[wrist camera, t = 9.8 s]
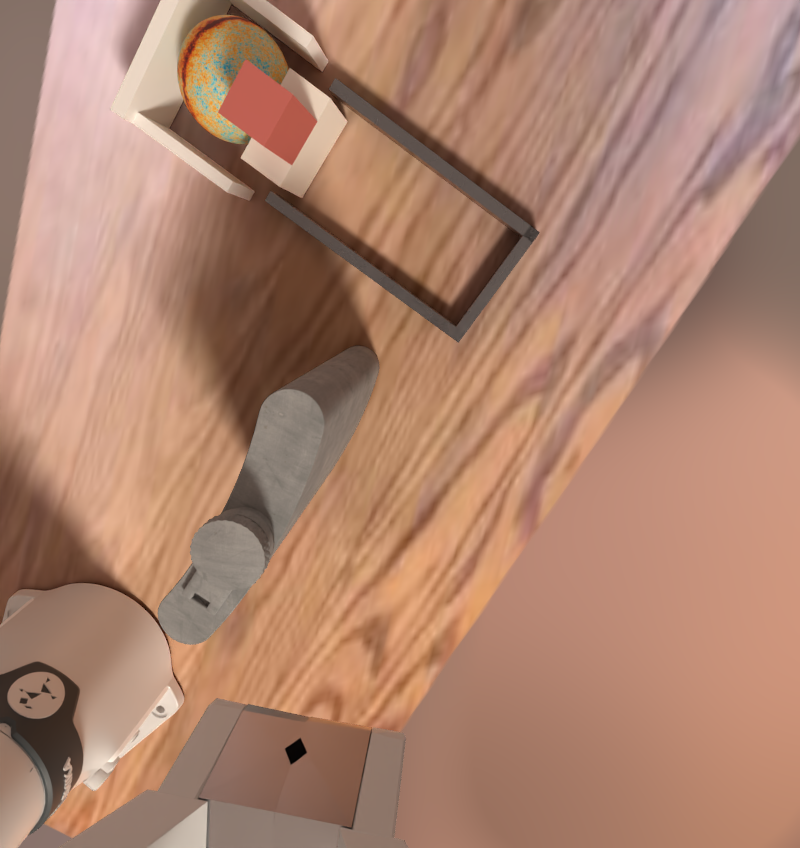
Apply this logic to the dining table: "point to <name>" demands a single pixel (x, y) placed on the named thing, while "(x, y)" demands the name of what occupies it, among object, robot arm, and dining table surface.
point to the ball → (223, 68)
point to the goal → (158, 83)
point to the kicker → (283, 125)
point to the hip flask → (270, 490)
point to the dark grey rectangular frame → (448, 175)
